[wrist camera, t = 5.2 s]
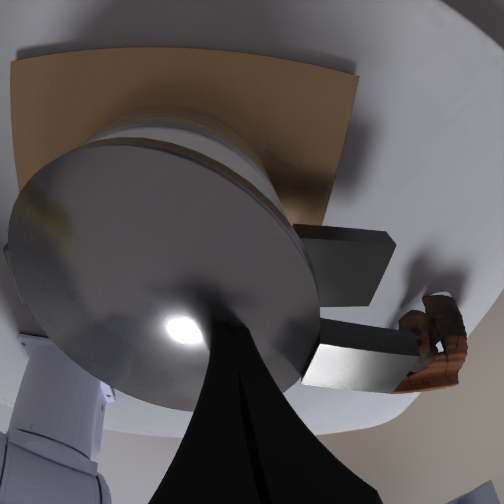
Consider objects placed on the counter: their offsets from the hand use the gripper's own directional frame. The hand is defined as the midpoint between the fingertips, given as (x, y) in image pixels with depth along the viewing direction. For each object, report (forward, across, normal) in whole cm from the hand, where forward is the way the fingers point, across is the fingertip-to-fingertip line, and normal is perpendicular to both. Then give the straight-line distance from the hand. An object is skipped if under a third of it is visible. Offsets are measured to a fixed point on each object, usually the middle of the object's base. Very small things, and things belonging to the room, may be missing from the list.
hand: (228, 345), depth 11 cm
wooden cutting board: (+9, +3, 0) cm, 10 cm away
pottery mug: (+10, -19, +10) cm, 23 cm away
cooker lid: (+1, +1, 0) cm, 2 cm away
